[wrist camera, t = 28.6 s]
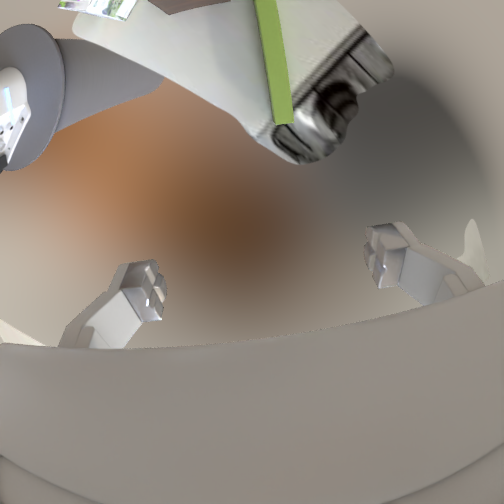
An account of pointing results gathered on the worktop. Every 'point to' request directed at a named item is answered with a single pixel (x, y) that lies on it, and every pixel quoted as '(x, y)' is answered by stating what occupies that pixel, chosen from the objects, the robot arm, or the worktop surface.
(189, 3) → the walnut shelf
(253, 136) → the worktop surface
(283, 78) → the green bar
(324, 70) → the worktop surface
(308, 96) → the worktop surface
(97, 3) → the syrup box
